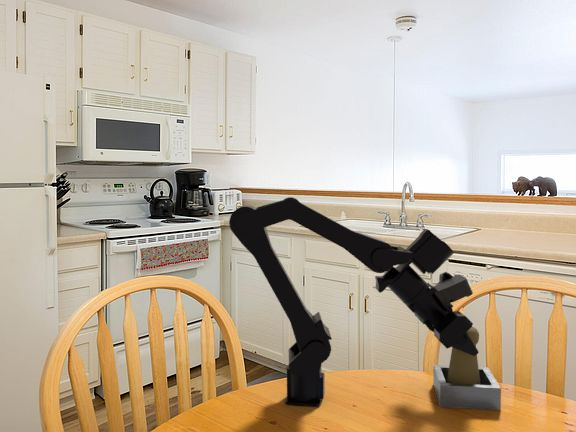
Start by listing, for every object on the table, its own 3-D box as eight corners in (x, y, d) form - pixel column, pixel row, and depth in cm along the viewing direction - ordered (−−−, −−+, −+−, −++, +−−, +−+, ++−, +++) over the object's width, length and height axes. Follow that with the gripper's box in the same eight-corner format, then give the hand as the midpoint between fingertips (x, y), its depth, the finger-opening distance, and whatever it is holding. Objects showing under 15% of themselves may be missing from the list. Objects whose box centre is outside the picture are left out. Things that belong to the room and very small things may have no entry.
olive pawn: (482, 391, 94) (483, 331, 93) (447, 388, 95) (448, 329, 94) (478, 379, 99) (479, 323, 99) (446, 376, 101) (447, 321, 100)
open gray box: (440, 406, 93) (440, 385, 93) (433, 384, 103) (433, 365, 103) (500, 410, 91) (500, 388, 91) (487, 387, 102) (487, 367, 101)
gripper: (461, 269, 86) (525, 334, 87) (431, 254, 105) (483, 307, 106) (414, 315, 87) (477, 379, 88) (392, 292, 106) (444, 345, 106)
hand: (471, 349), depth 97 cm, fingers closed on olive pawn, 5 cm apart
